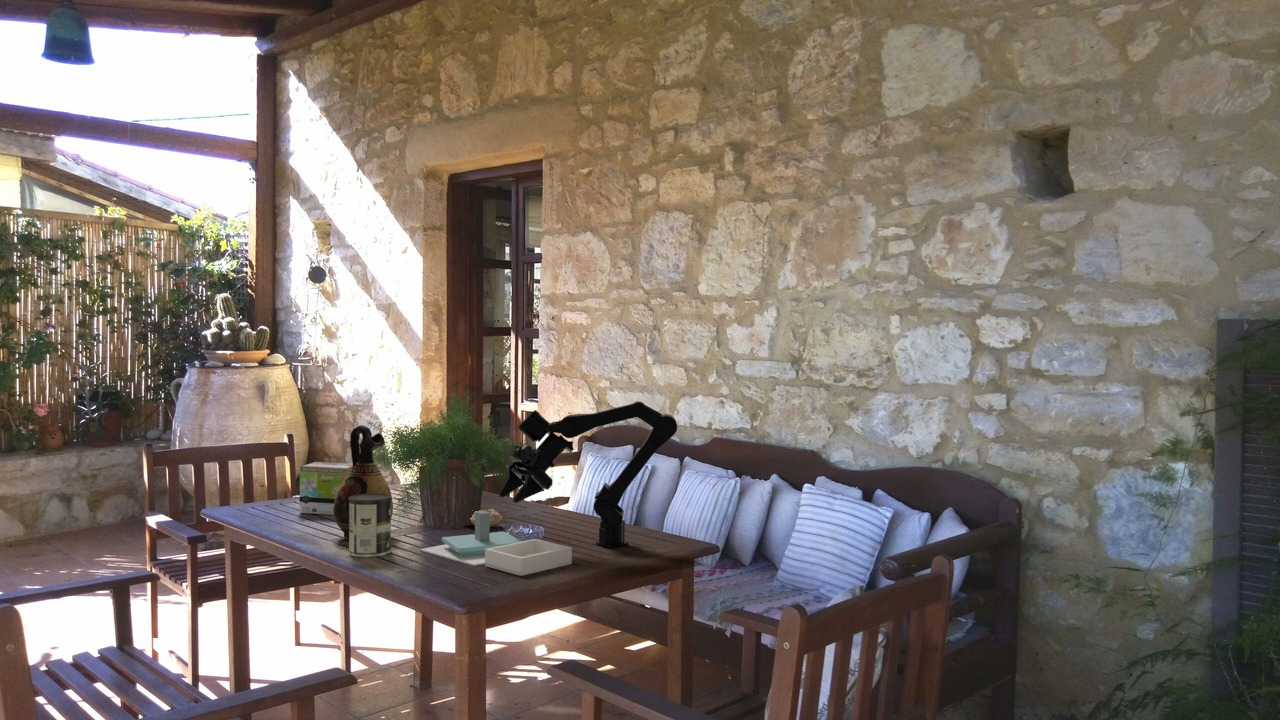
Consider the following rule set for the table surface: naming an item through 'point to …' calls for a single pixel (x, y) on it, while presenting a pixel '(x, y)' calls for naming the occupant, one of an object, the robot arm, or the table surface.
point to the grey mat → (455, 555)
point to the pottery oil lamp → (494, 517)
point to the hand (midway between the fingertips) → (507, 498)
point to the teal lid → (479, 538)
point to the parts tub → (528, 557)
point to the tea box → (321, 486)
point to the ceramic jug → (360, 475)
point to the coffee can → (370, 525)
